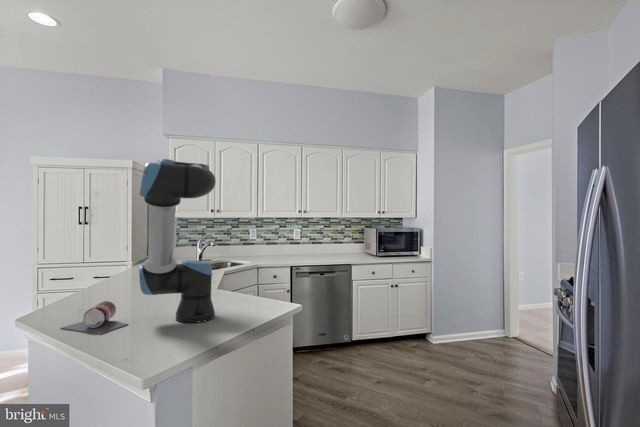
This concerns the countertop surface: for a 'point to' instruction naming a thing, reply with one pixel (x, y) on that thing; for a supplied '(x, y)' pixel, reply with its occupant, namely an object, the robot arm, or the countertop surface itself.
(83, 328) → the mat
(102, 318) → the soda can
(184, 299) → the robot arm
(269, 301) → the countertop surface
